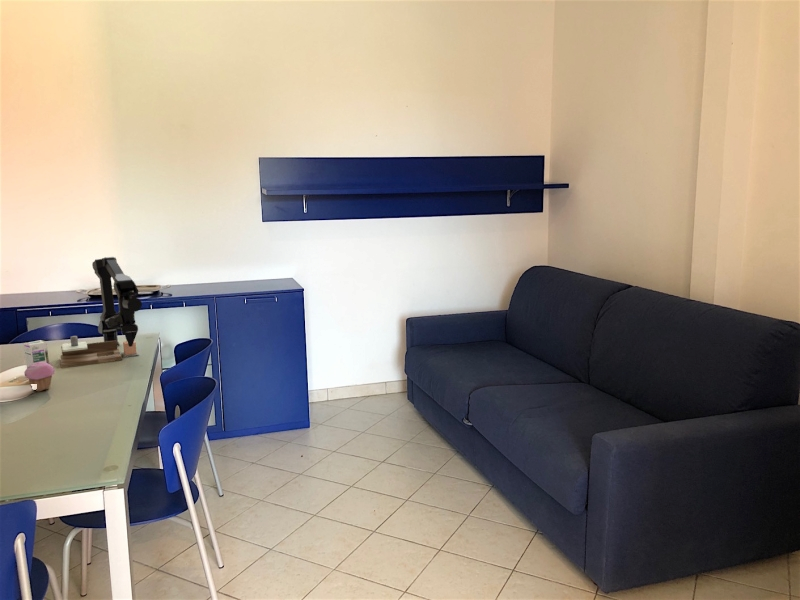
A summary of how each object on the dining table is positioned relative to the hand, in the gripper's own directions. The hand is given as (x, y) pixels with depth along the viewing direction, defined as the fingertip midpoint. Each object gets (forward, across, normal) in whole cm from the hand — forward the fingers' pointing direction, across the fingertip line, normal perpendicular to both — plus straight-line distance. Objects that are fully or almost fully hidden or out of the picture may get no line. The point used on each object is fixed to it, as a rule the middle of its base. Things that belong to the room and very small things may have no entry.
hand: (129, 344), depth 257 cm
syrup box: (+5, +23, -33) cm, 40 cm away
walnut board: (+4, 0, -15) cm, 16 cm away
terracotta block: (+4, 0, 0) cm, 4 cm away
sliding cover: (-1, -2, -21) cm, 21 cm away
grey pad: (+4, 0, 0) cm, 4 cm away
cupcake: (+5, +37, -32) cm, 49 cm away
